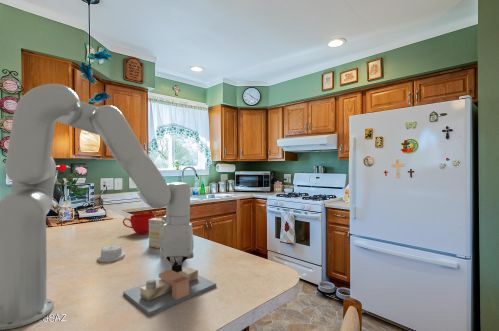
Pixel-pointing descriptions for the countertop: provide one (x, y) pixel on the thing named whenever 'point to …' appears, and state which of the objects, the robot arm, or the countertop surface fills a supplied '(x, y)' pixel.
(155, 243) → the supplement box
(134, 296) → the slate board
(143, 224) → the ceramic cup
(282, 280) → the countertop surface
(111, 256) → the mechanical component
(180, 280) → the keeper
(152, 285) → the maple link
